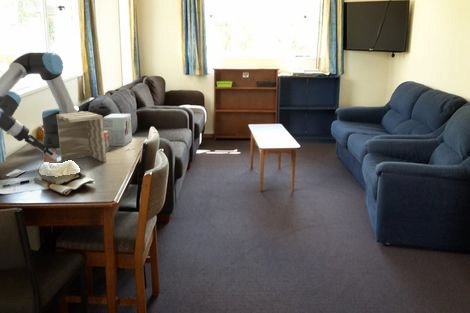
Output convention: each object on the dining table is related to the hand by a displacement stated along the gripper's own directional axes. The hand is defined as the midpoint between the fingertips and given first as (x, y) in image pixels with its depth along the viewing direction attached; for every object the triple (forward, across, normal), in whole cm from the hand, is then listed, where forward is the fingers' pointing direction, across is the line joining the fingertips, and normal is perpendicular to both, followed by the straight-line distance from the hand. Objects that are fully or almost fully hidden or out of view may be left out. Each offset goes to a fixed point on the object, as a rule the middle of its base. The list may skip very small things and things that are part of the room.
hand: (52, 155), depth 240 cm
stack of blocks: (+26, -24, +16) cm, 39 cm away
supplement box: (+42, -33, +32) cm, 63 cm away
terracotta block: (+4, 0, -6) cm, 7 cm away
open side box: (+17, -3, +7) cm, 19 cm away
